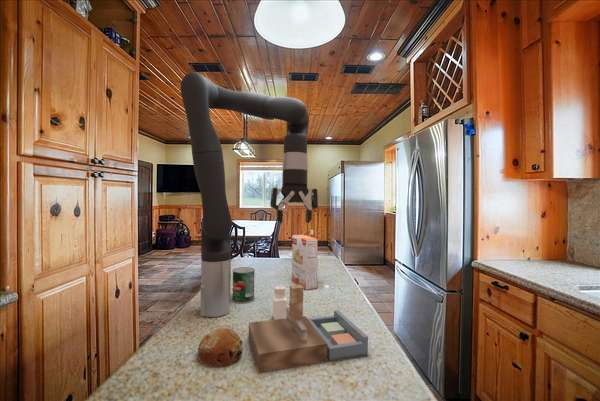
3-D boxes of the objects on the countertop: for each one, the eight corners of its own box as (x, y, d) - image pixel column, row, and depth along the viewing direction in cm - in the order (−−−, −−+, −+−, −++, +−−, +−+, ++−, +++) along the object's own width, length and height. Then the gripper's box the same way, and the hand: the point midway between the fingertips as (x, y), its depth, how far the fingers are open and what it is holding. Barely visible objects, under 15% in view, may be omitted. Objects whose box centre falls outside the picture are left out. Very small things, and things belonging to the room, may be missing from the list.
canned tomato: (228, 302, 103) (228, 271, 102) (238, 294, 110) (238, 266, 110) (248, 304, 101) (249, 273, 101) (257, 297, 108) (257, 267, 108)
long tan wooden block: (298, 343, 67) (299, 296, 67) (283, 318, 80) (284, 279, 80) (310, 341, 68) (310, 294, 68) (293, 317, 81) (293, 278, 81)
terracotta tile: (357, 342, 71) (357, 348, 71) (348, 332, 76) (348, 338, 76) (339, 344, 70) (339, 351, 70) (330, 335, 75) (330, 341, 75)
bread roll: (230, 357, 74) (222, 325, 77) (254, 352, 69) (245, 318, 71) (195, 375, 67) (187, 339, 69) (219, 372, 61) (210, 333, 63)
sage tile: (344, 329, 78) (344, 335, 78) (336, 321, 83) (336, 327, 83) (327, 331, 77) (327, 337, 77) (320, 323, 81) (320, 329, 81)
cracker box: (290, 281, 129) (291, 234, 129) (302, 279, 132) (303, 234, 132) (304, 290, 117) (305, 239, 116) (317, 288, 119) (318, 238, 119)
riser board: (258, 372, 62) (258, 354, 62) (248, 337, 77) (248, 322, 77) (327, 360, 67) (327, 343, 67) (304, 330, 82) (305, 316, 82)
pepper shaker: (274, 321, 88) (274, 290, 88) (272, 315, 92) (272, 286, 91) (287, 319, 89) (287, 289, 89) (284, 314, 93) (284, 285, 92)
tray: (329, 361, 67) (329, 342, 67) (305, 329, 83) (306, 313, 83) (367, 355, 70) (368, 336, 70) (337, 324, 86) (337, 309, 86)
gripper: (312, 171, 92) (312, 221, 93) (269, 168, 88) (268, 221, 88) (321, 169, 85) (320, 223, 85) (274, 166, 81) (273, 224, 81)
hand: (294, 222), depth 87 cm, fingers open, 8 cm apart
